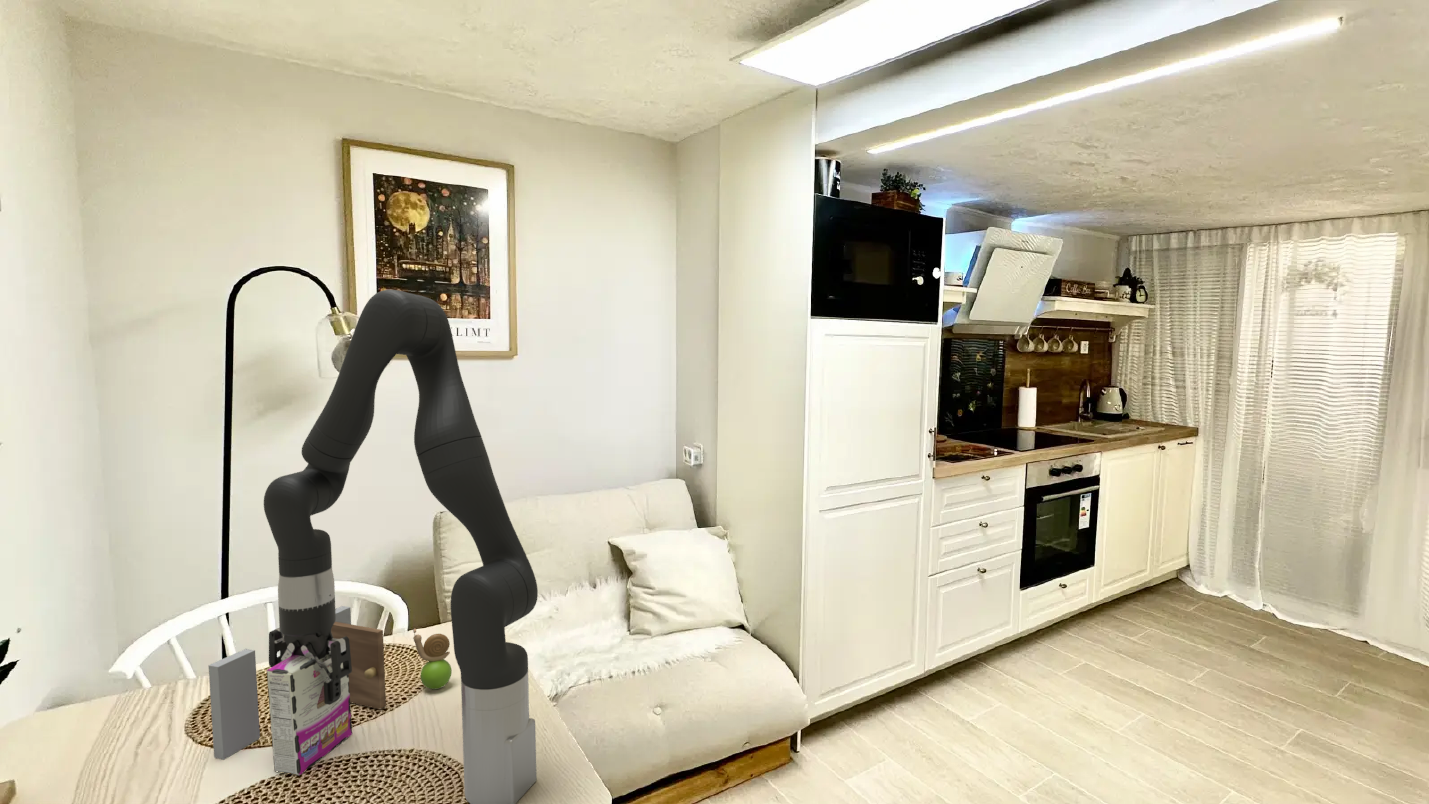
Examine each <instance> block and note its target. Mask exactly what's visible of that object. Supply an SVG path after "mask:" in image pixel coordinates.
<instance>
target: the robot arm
mask: <svg viewBox="0 0 1429 804" xmlns="http://www.w3.org/2000/svg"><path fill="white" fill-rule="evenodd" d="M397 355H401V356H405V357H407V360H408V361H409V363H410V366H411V369H412V372H413V375H414V379H415V381H416V385H417V389H418V407H417V413H416V418H415V424H414V425H415V426H414V433H413V434H414V436H413V440H414V441H413V443H414V449H415V454H416V457H417V460H418V463H419V466H420V468H421V469H420V470H421V471H422V472H421V473H422V475H423V479H424V481H425V484H426V486H427V488H428V489H429V491H430V493H431V494H432V496H434V498H435V499H436V500H437V501H438V502H439V503H440V504H441V505H442V506H443V507H444V508H445V509H446V510H447V511H448V512H449V513H450V514H451V515H452V516H454V517H455V519H457V520H458V522H460V524H462V525H463V527H465V529H466V530H467V532H468V533H469V534H470V536H471V538H472V539H473V541H474V543H475V546H476V548H477V551H478V554H479V556H480V559H481V562H482V566H480V567H477V568H474V569H472V570H470V571H467V572H465V573H463V574H461V576H459V577H458V578H457V579H456V581H455V582H454V584H453V587H452V589H451V594H450V619H451V630H452V639H453V640H452V641H453V651H454V657H455V660H456V663H457V665H458V668H459V671H460V687H461V688H460V689H461V691H460V692H461V693H460V694H461V721H462V723H461V725H462V726H461V727H462V728H461V729H462V755H463V756H462V758H463V760H462V761H463V781H464V782H463V783H464V785H463V786H464V788H463V789H464V797H465V799H466V801H467V802H468V803H469V804H517V803H518V802H519V800H520V799H521V798H522V797H523V796H524V795H525V794H526V792H528V790H529V789H530V788H531V787H532V786H533V785H534V783H536V781H538V780H537V742H536V741H537V739H536V738H537V737H536V734H537V733H536V720H535V719H534V718H530V707H529V706H530V705H529V704H530V702H529V701H530V697H529V695H530V694H529V692H530V691H529V658H528V652H527V650H526V648H524V647H523V646H522V645H519V644H516V643H513V642H509V641H506V639H507V638H506V629H505V628H506V627H508V626H510V625H511V624H514V623H515V622H517V621H518V620H521V619H522V618H524V617H526V616H527V615H528V614H530V613H531V612H532V611H533V610H534V608H535V607H536V605H537V601H538V596H539V595H538V593H539V592H538V584H537V579H536V577H535V575H536V574H535V573H534V571H533V568H532V565H531V562H530V560H529V559H528V556H527V554H526V552H525V550H524V547H523V545H522V543H521V541H520V539H519V536H518V535H517V532H516V529H515V528H514V525H513V523H512V521H511V519H510V518H511V517H510V516H509V514H508V511H507V508H506V506H505V503H504V500H503V497H502V495H501V494H502V493H501V492H500V488H499V486H498V484H497V483H498V482H497V481H496V478H495V475H494V471H493V468H492V465H491V461H490V457H489V455H488V451H487V449H486V446H485V443H484V440H483V437H482V435H481V432H480V429H479V426H478V423H477V422H476V419H475V415H474V412H473V409H472V407H471V402H470V400H469V396H468V393H467V390H466V386H465V384H464V382H463V378H462V375H461V370H460V366H459V361H458V357H457V352H456V347H455V343H454V339H453V333H452V330H451V325H450V320H449V318H448V317H447V314H446V312H445V311H444V309H443V308H442V306H441V305H440V304H439V303H438V302H436V301H435V300H434V299H431V298H430V297H427V296H424V295H423V296H422V295H419V294H415V293H409V292H406V291H402V290H397V289H384V290H380V291H379V292H376V293H375V294H373V295H372V296H371V297H370V298H369V299H368V300H367V302H366V304H365V306H364V307H363V309H362V311H361V313H360V315H359V318H358V321H357V323H356V326H355V328H354V331H353V333H352V337H351V340H350V342H349V345H348V347H347V350H346V353H345V355H344V358H343V361H342V364H341V367H340V370H339V372H338V376H337V378H336V380H335V381H336V382H335V384H334V387H333V389H332V390H331V394H330V395H329V398H328V400H327V401H326V403H325V405H324V408H322V411H321V412H320V414H319V415H318V417H317V419H316V421H315V423H314V424H313V426H312V427H311V429H310V431H309V432H308V434H307V437H306V438H305V440H304V441H303V442H304V443H303V444H302V447H301V456H302V458H303V460H304V461H305V462H306V463H307V466H305V468H304V469H303V470H301V471H298V472H294V473H290V474H286V475H282V476H279V477H276V478H275V479H273V480H272V481H271V482H270V483H269V484H268V486H267V487H266V490H265V493H264V496H263V510H264V514H265V518H266V520H267V523H268V526H269V528H270V531H271V534H272V536H273V539H274V541H275V543H276V547H277V550H278V553H277V555H278V557H277V558H278V560H277V561H278V582H277V583H278V584H277V601H278V621H279V622H278V623H279V627H278V628H275V629H273V630H271V631H269V632H268V665H269V667H270V668H271V667H273V666H275V665H277V664H278V663H280V662H282V661H284V660H286V659H287V658H289V657H291V656H293V655H299V656H305V657H307V658H308V659H309V660H312V661H313V668H314V670H315V671H317V672H320V674H321V675H322V677H323V679H324V681H325V682H324V702H325V704H328V705H330V704H332V703H334V702H336V701H337V700H338V699H339V698H340V696H341V678H343V677H345V676H346V675H348V674H350V673H351V672H352V666H351V654H350V642H349V638H348V637H347V636H345V637H343V638H341V639H335V638H333V635H332V633H331V628H332V626H333V624H334V623H335V621H336V612H335V609H336V592H335V591H336V590H335V589H336V588H335V587H336V586H335V576H334V573H333V572H334V571H333V563H332V562H333V557H332V556H333V555H332V541H331V537H330V534H329V533H328V532H327V531H326V530H323V529H318V528H317V529H316V528H314V527H313V524H312V521H311V520H312V519H311V516H314V515H316V514H319V513H323V512H325V511H327V510H328V509H331V507H333V505H334V504H335V503H336V502H337V500H338V499H340V496H342V493H343V490H344V488H345V484H346V483H347V478H348V474H349V471H350V466H351V462H352V461H353V459H354V458H355V457H356V455H357V453H358V451H359V450H360V448H361V446H362V444H363V442H365V440H366V438H367V436H368V435H369V432H370V430H371V427H372V424H373V420H374V417H375V403H376V402H375V399H376V390H377V387H378V383H379V380H380V378H381V375H382V373H384V370H385V369H386V368H387V366H388V365H389V363H390V362H391V361H392V360H393V359H394V357H395V356H397ZM278 652H279V656H278ZM327 653H328V658H329V659H328V660H326V661H324V662H320V659H322V658H324V657H325V656H326V655H327ZM341 663H343V668H341ZM327 666H330V667H331V668H332V672H331V673H330V672H329V670H328V669H327Z"/></svg>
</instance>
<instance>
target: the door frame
mask: <svg viewBox="0 0 1429 804" xmlns="http://www.w3.org/2000/svg"><path fill="white" fill-rule="evenodd" d="M335 612H336V621H335V622H340V623H346V624H352V613H351V606H345V605H341V606H338V607H337V608H336V607H335ZM257 676H258V675H257V663H256V650H255V649H250V648H244V649H241V650H240V651H238V652H235V653H233V654H231V655H229V656H227V657H224V658H222V659H219V660H216V661H215V662H213V663H210V664H208V677H209V678H208V680H209V681H208V682H209V694H210V695H209V696H210V714H211V727H212V728H211V730H212V742H213V743H212V744H213V745H212V747H213V757H214V759H219V760H223V761H224V760H226V759H227V758H229V757H231V756H233V755H235V754H236V753H238V752H239V751H242V749H244V748H246V747H248V746H250V745H251V744H253V743H254V742H257V741H258V740H260V739H261V733H260V715H259V699H258V698H259V697H258V677H257ZM259 738H260V739H259Z"/></svg>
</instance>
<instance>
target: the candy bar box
mask: <svg viewBox="0 0 1429 804" xmlns="http://www.w3.org/2000/svg"><path fill="white" fill-rule="evenodd" d="M328 659H329V658H328V653H327V655H326V656H325V657H324V658H322V659H320V662H324V661H326V660H328ZM341 668H343V663H341ZM327 669H328V670H329V672H330V673H331V672H332V668H331V667H330V666H327ZM266 679H267V689H268V690H267V694H268V706H269V716H270V718H269V719H270V732H271V744H272V745H271V746H272V756H273V757H272V759H273V771H274V772H275V773H278V772H284V773H283V774H286V773H291V774H290V775H293V774H296V775H295V776H300V775H303V774H304V773H305V772H306V771H307V770H306V769H308V768H309V769H310V768H311V767H312V766H314V765H315V764H316V763H319V761H320V760H322V759H323V758H324V757H326V756H327V755H328V754H329V753H330V752H332V751H333V750H334V749H335V748H337V747H339V746H340V745H341V744H342V743H343V742H344V741H346V740H347V739H348V738H350V737H351V736H352V735H353V725H352V708H351V702H350V691H349V674H348V675H346V676H345V677H343V678H341V696H340V698H339V699H338V700H337V701H336V702H334V703H332V704H330V705H328V704H325V702H324V682H325V681H324V679H323V677H322V675H321V674H320V672H317V671H315V670H314V668H313V661H312V660H309V659H308V658H307V657H305V656H299V655H293V656H291V657H289V658H287V659H286V660H284V661H282V662H280V663H278V664H277V665H275V666H273V667H270V668H268V669H266ZM309 769H308V770H309ZM305 770H306V771H305ZM276 771H278V772H276ZM304 771H305V772H304ZM303 772H304V773H303Z"/></svg>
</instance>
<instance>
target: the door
mask: <svg viewBox="0 0 1429 804" xmlns="http://www.w3.org/2000/svg"><path fill="white" fill-rule="evenodd" d="M331 633H332V635H333V638H335V639H341V638H343V637H345V636H347V637H348V638H349V642H350V654H351V666H352V672H351V673H350V674H349V691H350V703H351V702H353V703H352V704H355V703H356V705H359V706H360V705H361V706H365V707H370V708H374V709H379V710H382V709H383V708H385V707H386V706H387V699H386V671H385V651H384V650H385V646H384V630H383V629H379V628H373V627H368V626H362V625H357V624H352V623H351V624H346V623H340V622H335V623H334V624H333V626H332V628H331Z"/></svg>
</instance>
